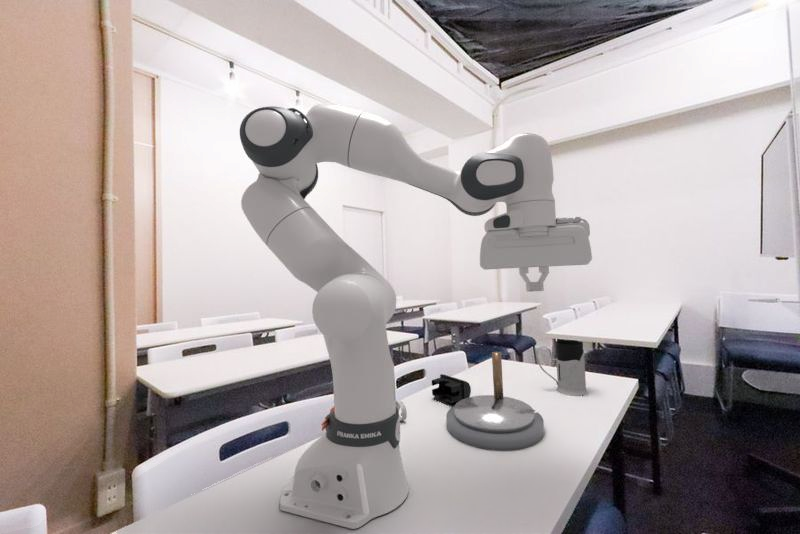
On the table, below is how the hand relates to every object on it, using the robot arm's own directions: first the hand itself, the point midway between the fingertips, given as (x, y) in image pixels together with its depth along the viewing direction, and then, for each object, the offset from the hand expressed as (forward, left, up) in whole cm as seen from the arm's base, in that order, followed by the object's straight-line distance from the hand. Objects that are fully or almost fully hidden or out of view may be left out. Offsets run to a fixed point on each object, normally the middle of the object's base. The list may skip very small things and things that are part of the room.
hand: (534, 291), depth 66 cm
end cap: (-19, +35, -34) cm, 53 cm away
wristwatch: (-32, +20, -34) cm, 51 cm away
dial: (-8, +18, -31) cm, 37 cm away
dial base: (-8, +18, -34) cm, 39 cm away
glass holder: (+15, +45, -34) cm, 59 cm away
